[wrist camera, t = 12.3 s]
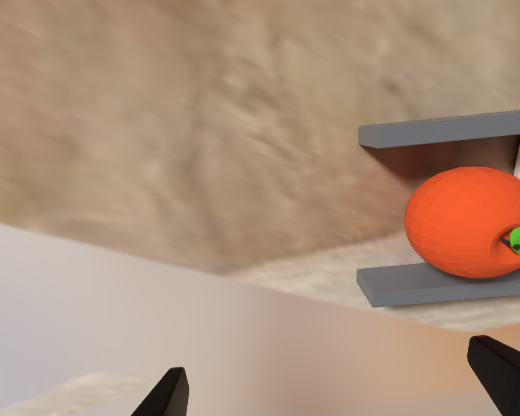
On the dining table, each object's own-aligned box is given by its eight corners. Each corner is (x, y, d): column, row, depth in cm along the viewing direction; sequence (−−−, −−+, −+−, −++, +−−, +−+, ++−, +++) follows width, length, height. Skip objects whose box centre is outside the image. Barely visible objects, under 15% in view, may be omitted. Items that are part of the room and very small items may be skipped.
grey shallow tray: (596, 102, 18) (701, 95, 14) (553, 264, 22) (624, 298, 17) (358, 126, 18) (389, 127, 14) (356, 282, 22) (380, 319, 18)
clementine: (468, 128, 18) (591, 132, 11) (508, 203, 20) (636, 245, 13) (368, 198, 20) (425, 238, 13) (413, 262, 21) (484, 327, 15)
